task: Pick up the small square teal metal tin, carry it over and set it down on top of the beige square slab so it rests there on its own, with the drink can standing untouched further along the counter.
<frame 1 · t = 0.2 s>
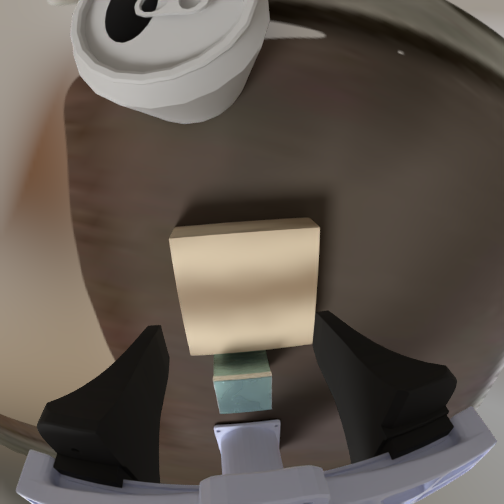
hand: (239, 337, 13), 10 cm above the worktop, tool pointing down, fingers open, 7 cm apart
tin: (240, 357, 26), on the worktop
can: (191, 74, 17), on the worktop
beige square slab: (245, 280, 23), on the worktop
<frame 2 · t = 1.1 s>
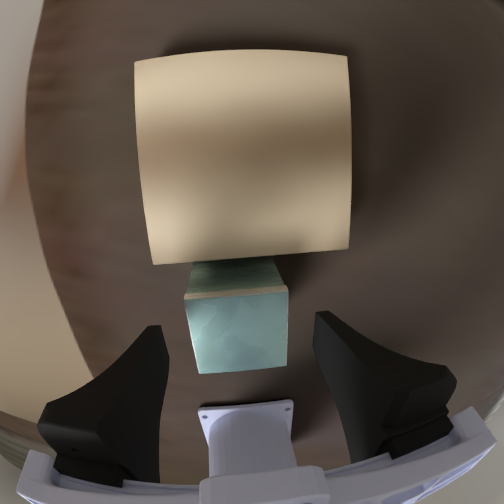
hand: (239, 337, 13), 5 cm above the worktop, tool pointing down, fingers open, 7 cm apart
tin: (234, 287, 18), on the worktop
beige square slab: (243, 151, 15), on the worktop
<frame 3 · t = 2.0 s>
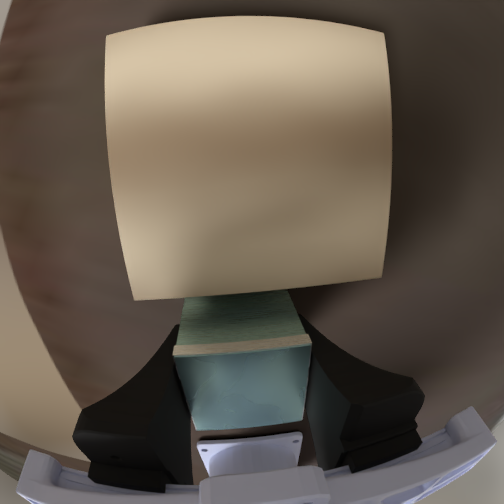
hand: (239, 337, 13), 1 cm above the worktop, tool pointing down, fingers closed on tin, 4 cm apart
tin: (237, 320, 14), on the worktop, touching gripper
beige square slab: (249, 150, 12), on the worktop
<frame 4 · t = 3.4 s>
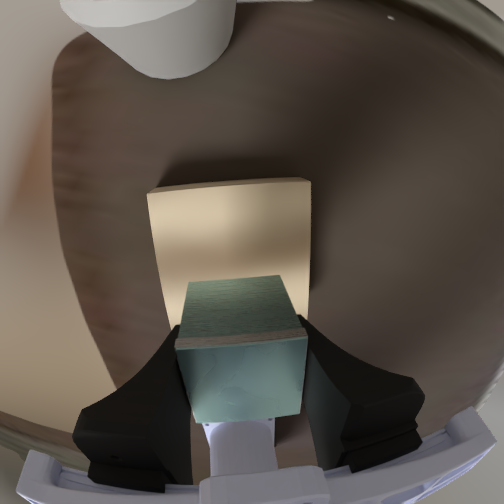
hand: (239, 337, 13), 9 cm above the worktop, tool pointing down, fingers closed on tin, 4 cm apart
tin: (237, 316, 15), point 7 cm above the worktop, touching gripper
can: (178, 35, 15), on the worktop
beige square slab: (232, 247, 21), on the worktop
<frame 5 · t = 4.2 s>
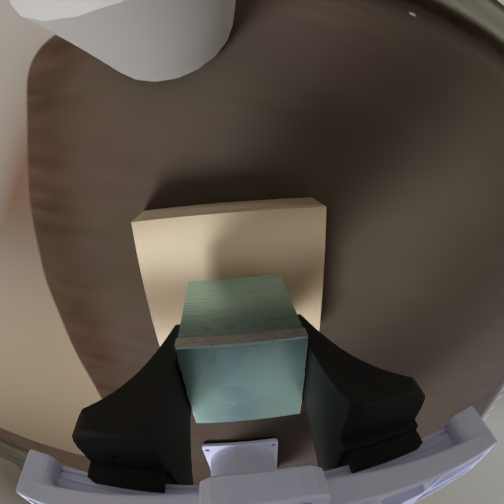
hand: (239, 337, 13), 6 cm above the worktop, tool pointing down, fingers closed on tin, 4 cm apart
tin: (237, 316, 15), point 4 cm above the worktop, touching gripper
can: (168, 29, 12), on the worktop
beige square slab: (233, 277, 19), on the worktop
when the fingers open (5 cm above the worktop, at t = 4.9 s): tin stays where it is, point 2 cm above the worktop.
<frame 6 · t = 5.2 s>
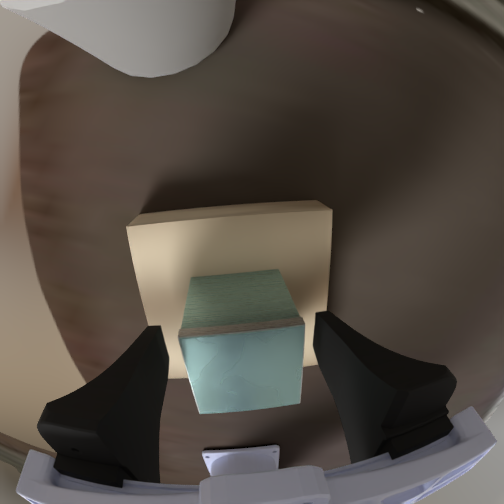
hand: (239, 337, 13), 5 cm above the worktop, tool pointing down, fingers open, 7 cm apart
tin: (238, 310, 15), point 2 cm above the worktop
can: (165, 23, 11), on the worktop
beige square slab: (234, 283, 18), on the worktop
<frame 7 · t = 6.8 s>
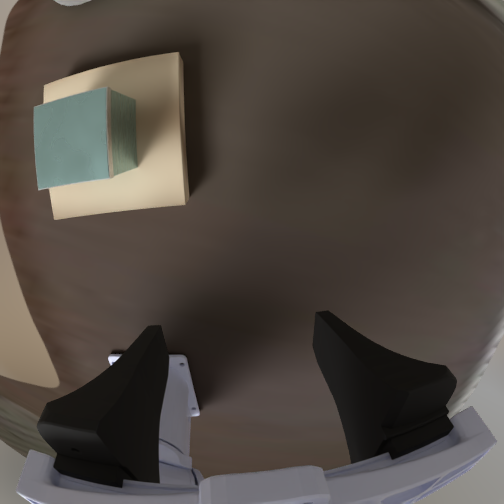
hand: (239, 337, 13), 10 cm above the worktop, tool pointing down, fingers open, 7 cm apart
tin: (104, 137, 15), point 2 cm above the worktop, touching beige square slab
beige square slab: (120, 137, 18), on the worktop, touching tin
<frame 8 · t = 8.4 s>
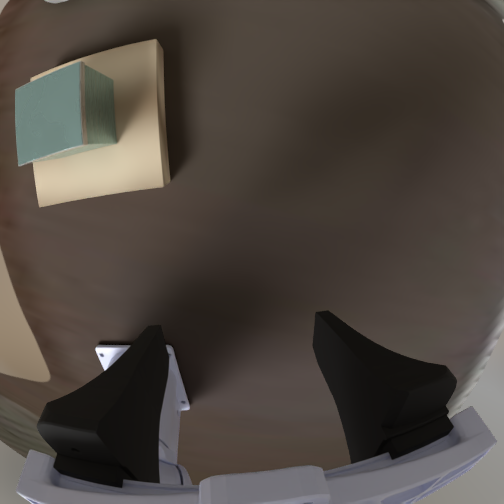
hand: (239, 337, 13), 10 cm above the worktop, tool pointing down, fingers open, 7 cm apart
tin: (85, 119, 15), point 2 cm above the worktop
beige square slab: (103, 125, 18), on the worktop
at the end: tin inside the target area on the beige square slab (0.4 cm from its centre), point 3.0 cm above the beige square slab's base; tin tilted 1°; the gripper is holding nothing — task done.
